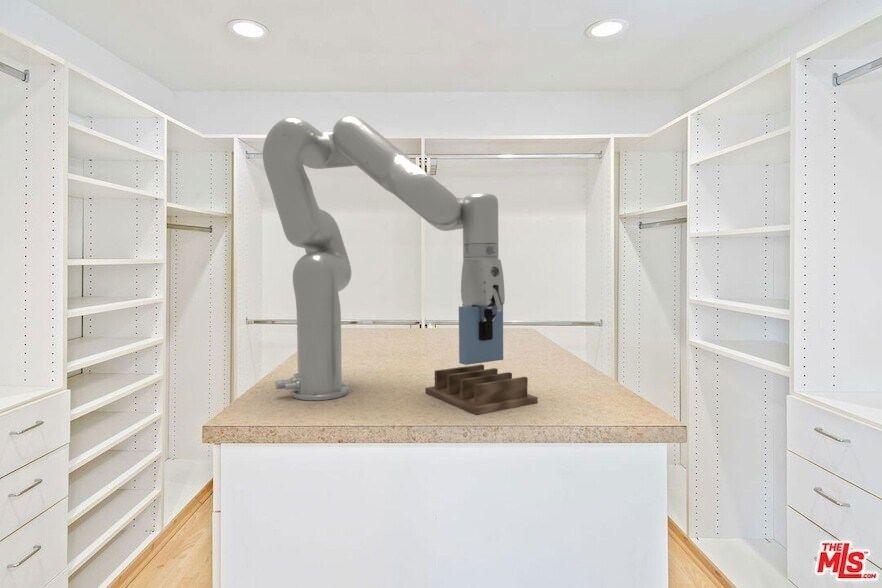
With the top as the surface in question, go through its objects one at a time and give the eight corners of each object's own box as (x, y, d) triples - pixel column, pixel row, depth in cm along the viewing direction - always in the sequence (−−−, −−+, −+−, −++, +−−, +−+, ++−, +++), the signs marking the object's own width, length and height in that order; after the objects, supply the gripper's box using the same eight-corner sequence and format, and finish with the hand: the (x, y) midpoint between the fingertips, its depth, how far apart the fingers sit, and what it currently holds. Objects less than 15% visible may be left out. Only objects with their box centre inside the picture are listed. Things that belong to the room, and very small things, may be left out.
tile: (465, 364, 102) (465, 307, 102) (459, 363, 104) (458, 306, 104) (503, 359, 107) (503, 304, 107) (496, 358, 110) (496, 304, 109)
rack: (475, 414, 94) (475, 388, 94) (425, 393, 110) (425, 370, 110) (537, 402, 103) (537, 378, 102) (482, 383, 119) (482, 362, 118)
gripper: (519, 252, 100) (519, 342, 101) (472, 254, 113) (473, 333, 114) (490, 252, 96) (490, 345, 97) (445, 254, 109) (446, 336, 110)
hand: (481, 338), depth 106 cm, fingers closed on tile, 2 cm apart
